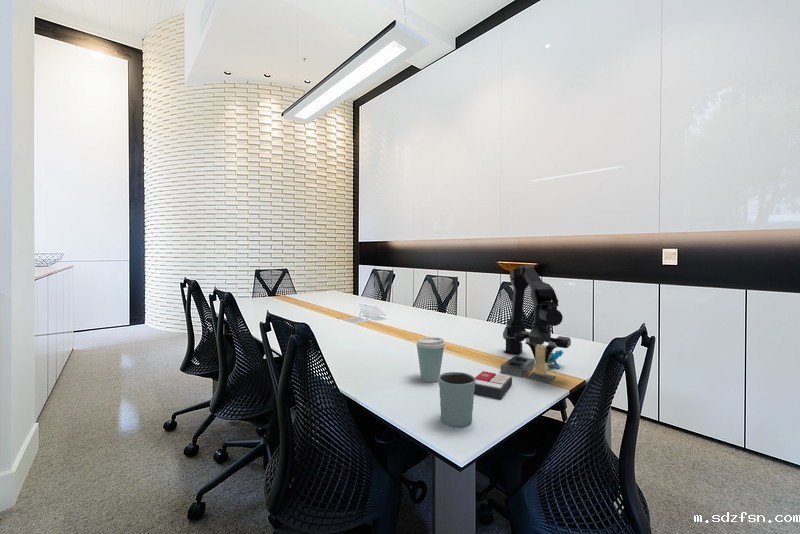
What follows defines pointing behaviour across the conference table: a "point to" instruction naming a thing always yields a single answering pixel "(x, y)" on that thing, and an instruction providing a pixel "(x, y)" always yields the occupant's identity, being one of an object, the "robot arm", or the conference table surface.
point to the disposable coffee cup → (430, 357)
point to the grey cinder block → (517, 366)
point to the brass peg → (540, 359)
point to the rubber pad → (541, 377)
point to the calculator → (492, 385)
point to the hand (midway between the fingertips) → (541, 361)
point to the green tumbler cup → (456, 398)
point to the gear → (554, 358)
